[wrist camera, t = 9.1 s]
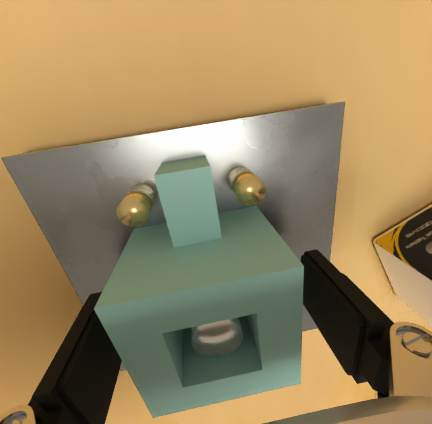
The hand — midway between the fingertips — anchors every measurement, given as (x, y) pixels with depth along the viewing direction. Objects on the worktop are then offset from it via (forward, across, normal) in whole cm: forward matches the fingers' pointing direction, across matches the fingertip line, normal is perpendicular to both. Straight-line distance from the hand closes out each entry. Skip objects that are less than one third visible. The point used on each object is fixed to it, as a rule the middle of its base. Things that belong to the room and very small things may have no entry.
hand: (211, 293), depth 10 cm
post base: (+4, 0, 0) cm, 4 cm away
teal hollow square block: (+2, 0, -2) cm, 3 cm away
